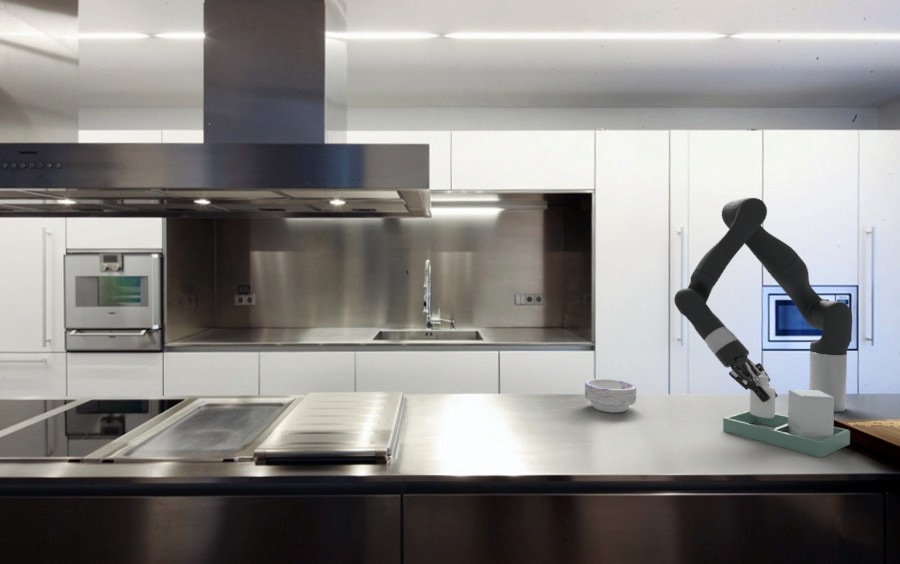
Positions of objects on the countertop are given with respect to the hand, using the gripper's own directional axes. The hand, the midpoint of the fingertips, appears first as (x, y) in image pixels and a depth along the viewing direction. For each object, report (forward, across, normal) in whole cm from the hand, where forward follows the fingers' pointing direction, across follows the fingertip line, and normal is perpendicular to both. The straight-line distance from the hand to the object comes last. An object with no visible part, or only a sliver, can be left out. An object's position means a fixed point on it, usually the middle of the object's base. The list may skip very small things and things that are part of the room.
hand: (770, 399), depth 137 cm
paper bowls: (-21, -16, +35) cm, 43 cm away
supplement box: (+13, 0, 0) cm, 13 cm away
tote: (+9, 0, +4) cm, 10 cm away
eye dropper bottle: (+2, 0, +5) cm, 6 cm away
